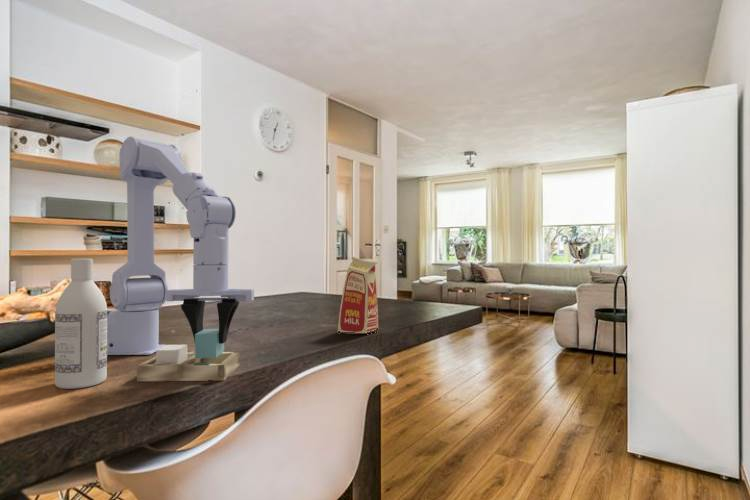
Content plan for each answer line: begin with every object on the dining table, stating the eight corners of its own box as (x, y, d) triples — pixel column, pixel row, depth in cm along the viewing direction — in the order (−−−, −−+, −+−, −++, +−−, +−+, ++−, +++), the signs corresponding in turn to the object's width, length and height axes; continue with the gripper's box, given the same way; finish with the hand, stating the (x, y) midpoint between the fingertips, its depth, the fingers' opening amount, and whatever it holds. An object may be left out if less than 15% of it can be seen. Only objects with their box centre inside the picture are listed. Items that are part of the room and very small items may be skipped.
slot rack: (136, 381, 72) (137, 364, 72) (162, 366, 81) (162, 350, 81) (224, 380, 72) (224, 363, 72) (239, 365, 82) (239, 350, 82)
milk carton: (337, 333, 114) (337, 256, 114) (352, 327, 123) (352, 256, 123) (369, 335, 111) (370, 256, 111) (382, 329, 120) (383, 256, 120)
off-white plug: (177, 374, 74) (177, 350, 74) (155, 374, 74) (156, 350, 74) (189, 365, 80) (190, 343, 80) (170, 365, 80) (170, 343, 80)
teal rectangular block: (216, 357, 74) (216, 334, 74) (195, 358, 74) (194, 334, 74) (226, 349, 80) (225, 327, 80) (206, 349, 80) (206, 327, 80)
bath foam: (98, 374, 75) (98, 258, 75) (113, 382, 71) (114, 258, 71) (49, 383, 70) (49, 258, 70) (62, 393, 66) (63, 259, 66)
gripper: (158, 265, 73) (158, 347, 72) (247, 265, 73) (247, 347, 73) (175, 264, 80) (175, 339, 80) (256, 264, 80) (256, 338, 80)
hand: (210, 342), depth 77 cm, fingers closed on teal rectangular block, 3 cm apart
